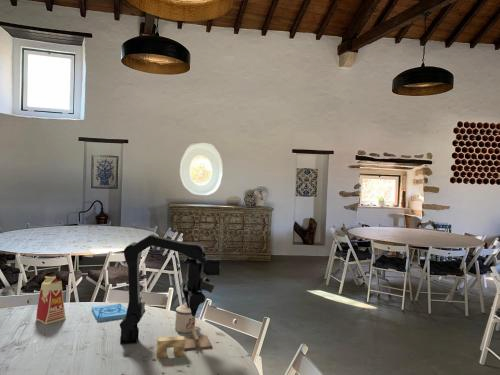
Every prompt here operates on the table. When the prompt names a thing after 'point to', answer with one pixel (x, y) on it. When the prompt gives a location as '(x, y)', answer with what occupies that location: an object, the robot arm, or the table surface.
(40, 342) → the table surface
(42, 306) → the milk carton
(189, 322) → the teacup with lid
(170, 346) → the tan notched block
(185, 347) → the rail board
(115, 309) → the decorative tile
